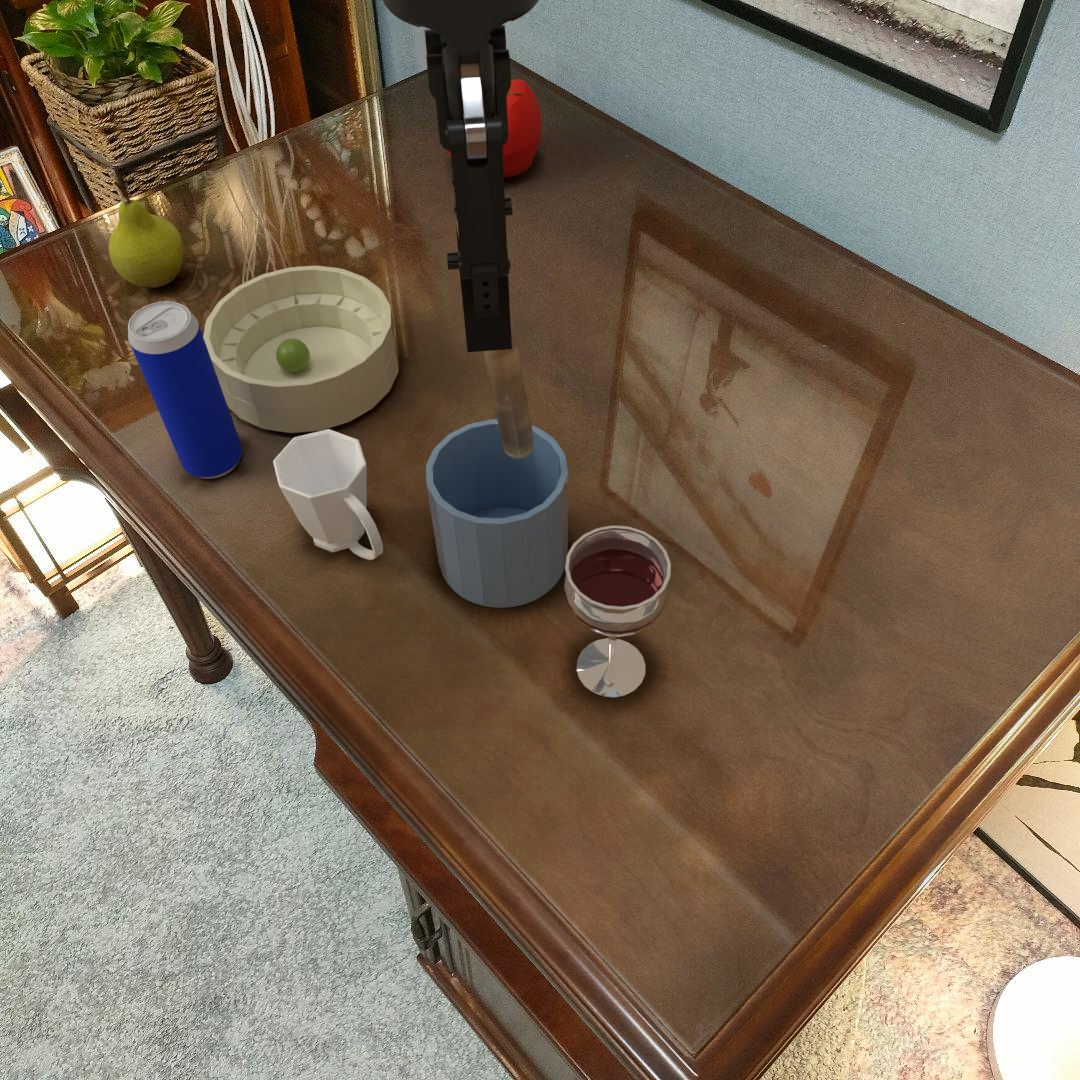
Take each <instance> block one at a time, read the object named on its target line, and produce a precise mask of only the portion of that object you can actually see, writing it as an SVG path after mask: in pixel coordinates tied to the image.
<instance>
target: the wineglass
mask: <svg viewBox="0 0 1080 1080" xmlns="http://www.w3.org/2000/svg"><path fill="white" fill-rule="evenodd" d="M671 563H672V562H671V560H670V557H669V554H668V551H667V550H666V549H665V548H664V546H663V545H662V544H661V543H660V542H659V540H658V539H656V538H655V537H653V536H652V535H650V534H649V533H647V532H646V531H644V530H641V529H638V528H635V527H631V526H628V525H627V526H626V525H608V526H603V527H602V526H601V527H597V528H594V529H593V530H591V531H588V532H586V533H584V534H583V535H581V536H580V537H579V538H578V539H577V540H575V542H573V543H572V545H571V547H570V549H569V550H568V554H567V558H566V565H565V569H564V571H565V578H564V585H563V588H564V592H563V593H564V597H565V599H566V604H567V607H568V608H569V609H570V611H571V612H572V614H573V615H574V616H575V618H576V619H577V620H578V621H579V622H580V623H581V624H582V625H583V626H584V627H586V628H587V629H589V630H590V631H593V632H595V633H597V634H600V635H602V636H607V638H606V637H605V638H602V639H597V640H595V641H593V642H591V643H588V645H586V646H585V648H583V649H582V650H581V652H580V654H579V656H578V658H577V661H576V672H577V677H578V679H579V680H580V681H581V683H582V685H583V686H584V687H585V688H586V689H587V690H589V691H590V692H591V693H594V694H596V695H599V696H601V697H604V698H605V697H606V698H619V697H625V696H626V695H628V694H631V693H632V692H634V691H636V690H637V689H638V687H639V686H640V685H642V683H643V680H644V679H645V676H646V669H647V668H646V667H647V666H646V663H645V659H644V656H643V655H642V653H641V652H640V650H639V649H638V648H637V647H636V646H634V645H633V644H631V643H630V642H628V641H626V640H623V639H620V638H622V637H626V636H632V635H635V634H638V633H640V632H642V631H644V630H645V629H647V628H649V627H650V625H652V624H653V623H654V622H655V621H656V620H657V619H658V618H659V617H660V616H661V614H662V612H663V611H664V608H665V606H666V604H667V601H668V599H669V596H670V595H669V594H670V581H669V580H670V578H671V571H672V570H671V568H672V567H671V566H672V564H671Z"/></svg>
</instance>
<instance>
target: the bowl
mask: <svg viewBox="0 0 1080 1080" xmlns="http://www.w3.org/2000/svg"><path fill="white" fill-rule="evenodd" d="M394 323H395V322H394V317H393V310H392V306H391V304H390V302H389V300H388V298H387V297H386V295H385V293H384V291H383V290H382V289H381V288H380V287H378V286H377V285H376V284H375V283H373V282H372V281H371V280H369V278H367V277H365V276H363V275H360V274H358V273H355V272H353V271H350V270H347V269H344V268H339V267H331V266H323V265H304V266H291V267H285V268H282V269H278V270H274V271H271V272H266V273H262V274H260V275H258V276H255V277H254V278H252V279H249V280H248V281H246V282H243V283H241V284H239V285H238V286H236V287H235V288H233V289H232V290H231V291H229V293H227V294H226V295H225V296H224V297H222V298H221V299H220V300H218V302H217V303H216V304H215V306H214V308H213V309H212V311H211V312H210V314H209V315H208V317H207V319H206V320H205V324H204V330H203V334H202V335H203V338H204V340H205V343H206V346H207V349H208V352H209V355H210V357H211V360H212V363H213V366H214V369H215V372H216V374H217V377H218V380H219V383H220V386H221V389H222V392H223V394H224V397H225V400H226V403H227V406H228V409H229V410H231V411H232V412H233V413H234V414H235V415H236V416H237V417H238V418H239V419H240V420H243V421H245V422H246V423H249V424H251V425H253V426H256V427H258V428H259V429H262V430H267V431H274V432H280V433H281V432H282V433H287V434H295V433H296V434H298V433H310V432H319V431H323V430H327V429H331V428H333V427H338V426H340V425H344V424H347V423H350V422H351V421H352V422H353V420H355V419H357V418H359V417H360V416H362V415H363V414H365V413H367V412H368V411H369V412H370V411H371V410H372V409H373V408H375V407H376V406H377V405H378V403H379V402H381V400H383V398H385V396H386V395H387V394H388V393H390V391H391V389H392V387H393V385H394V382H395V380H396V378H397V376H398V374H399V371H400V368H399V367H400V365H399V364H400V362H399V361H400V359H399V357H400V355H399V349H398V342H397V336H396V335H397V334H396V330H395V324H394ZM287 339H298V340H300V341H302V342H303V343H304V344H305V345H306V346H307V347H308V349H309V352H310V361H309V363H308V365H307V366H306V368H304V369H303V370H302V371H299V372H288V371H286V370H284V369H283V368H282V367H281V366H280V365H279V364H278V362H277V359H276V351H277V348H278V346H279V345H280V344H281V343H282V342H283V341H285V340H287Z"/></svg>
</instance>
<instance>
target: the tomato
mask: <svg viewBox="0 0 1080 1080" xmlns="http://www.w3.org/2000/svg"><path fill="white" fill-rule="evenodd" d="M507 115H508V135H509V137H508V141H507V143H506V144H505V145H504V146H503V168H504V178H510V177H511V178H512V177H514V176H519V175H520V174H522V173H524V172H525V171H528V169H529V168H530V167H531V166H532V163H533V160H534V157H535V154H536V153H537V152H538V149H539V146H540V143H541V139H542V130H543V123H542V114H541V108H540V105H539V102H538V99H537V97H536V94H535V93H534V91H533V89H532V88H531V86H530V85H529V84H527V82H526V81H525V80H523V79H520V78H517V79H511V88H510V90H509V91H508V93H507ZM495 118H496V117H495ZM446 152H447V154H448V156H449V158H450V159H451V153H450V152H449V151H448V150H446Z"/></svg>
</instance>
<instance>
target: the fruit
mask: <svg viewBox="0 0 1080 1080" xmlns="http://www.w3.org/2000/svg"><path fill="white" fill-rule="evenodd" d="M113 184H114V186H116V187H117V188H118V189H119V191H120V192H122V193H123V195H124V197H125V200H123V201H122V202H121V203H120V204H119V207H118V209H117V214H118V223H117V226H116V227H115V228H114V230H113V232H112V234H111V236H110V238H109V240H108V255H109V258H110V259H109V260H110V261H111V264H112V266H113V268H114V269H115V270H116V272H117V273H118V274H119V275H120V276H121V277H122V278H123V279H124V280H126V281H127V282H128V283H130V284H132V285H133V286H136V287H141V288H142V287H143V288H152V289H156V288H161V287H163V286H167V285H168V284H170V283H172V282H173V281H174V280H175V279H176V277H177V276H178V275H179V273H180V271H181V269H182V266H183V261H184V252H185V251H184V243H183V239H182V235H181V233H180V231H178V229H177V227H176V226H175V225H174V224H173V223H172V222H171V221H169V220H168V219H166V218H165V217H162V216H159V215H156V214H152V213H149V212H148V211H147V209H146V208H145V207H144V205H143V204H142V203H141V202H140V201H138V200H136V199H130V198H129V196H128V194H127V193H126V191H125V190H124V189H123V187H122V186H121V185H120V184H119V182H117V181H115V182H113Z"/></svg>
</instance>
